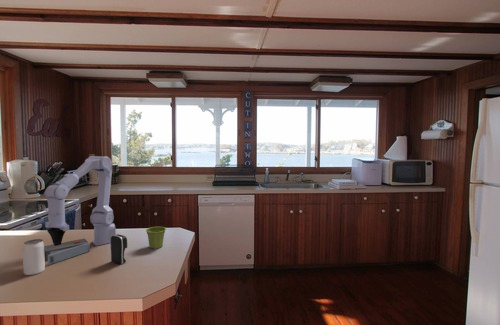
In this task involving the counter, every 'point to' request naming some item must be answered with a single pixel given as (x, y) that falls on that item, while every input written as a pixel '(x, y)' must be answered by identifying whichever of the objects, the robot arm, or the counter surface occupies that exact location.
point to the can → (33, 257)
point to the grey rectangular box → (62, 247)
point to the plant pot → (155, 236)
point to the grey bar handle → (68, 253)
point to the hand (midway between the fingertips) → (57, 245)
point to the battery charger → (118, 248)
